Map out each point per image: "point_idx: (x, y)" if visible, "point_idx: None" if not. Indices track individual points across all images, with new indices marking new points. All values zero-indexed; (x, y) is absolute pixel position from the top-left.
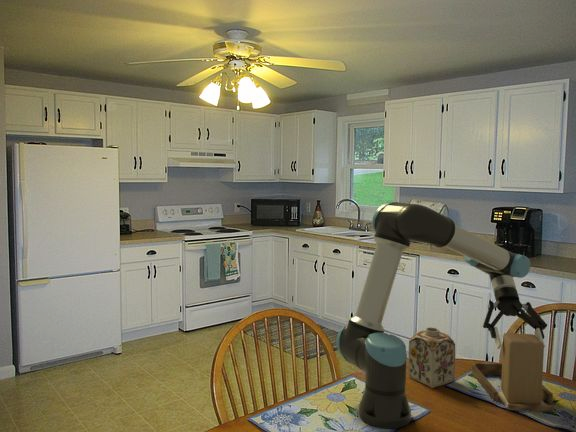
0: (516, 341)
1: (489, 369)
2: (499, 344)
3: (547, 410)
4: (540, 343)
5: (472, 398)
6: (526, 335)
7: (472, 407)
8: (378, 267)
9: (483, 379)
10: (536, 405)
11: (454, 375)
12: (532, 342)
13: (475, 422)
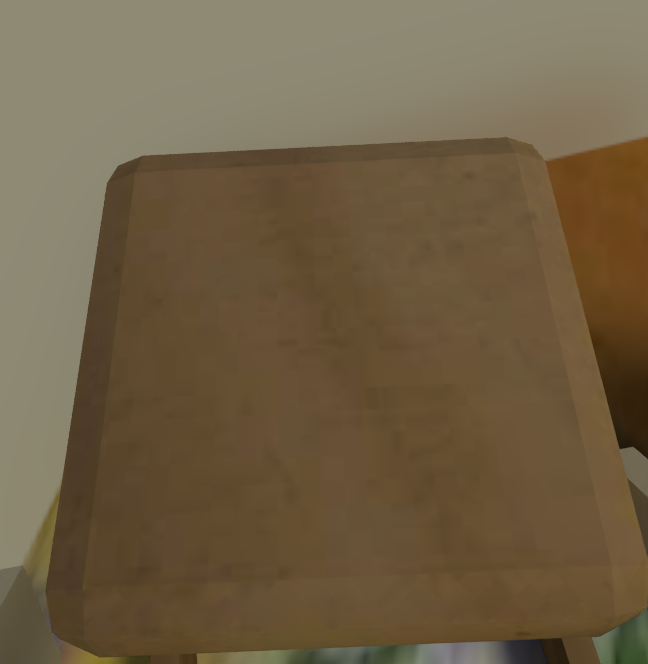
0: (462, 151)
1: None
2: (634, 451)
3: None
4: (146, 161)
5: (620, 436)
6: (241, 474)
7: (609, 324)
8: None
9: (591, 641)
10: None
11: None
12: (247, 163)
13: (582, 189)
